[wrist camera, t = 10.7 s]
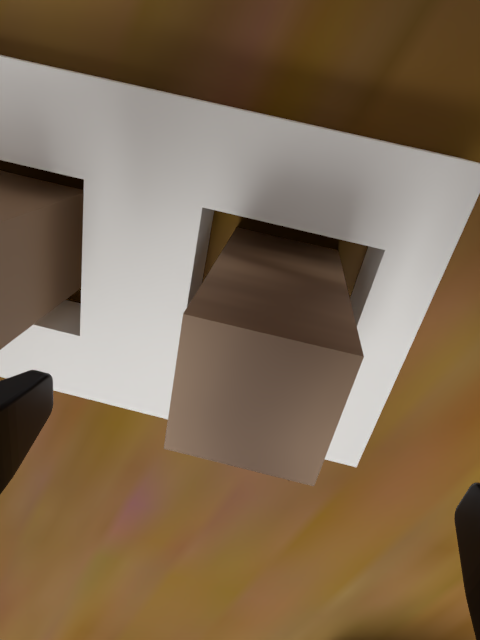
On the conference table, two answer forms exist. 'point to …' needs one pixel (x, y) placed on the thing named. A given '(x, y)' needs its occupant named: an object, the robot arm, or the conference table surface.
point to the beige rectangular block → (265, 358)
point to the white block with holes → (197, 230)
